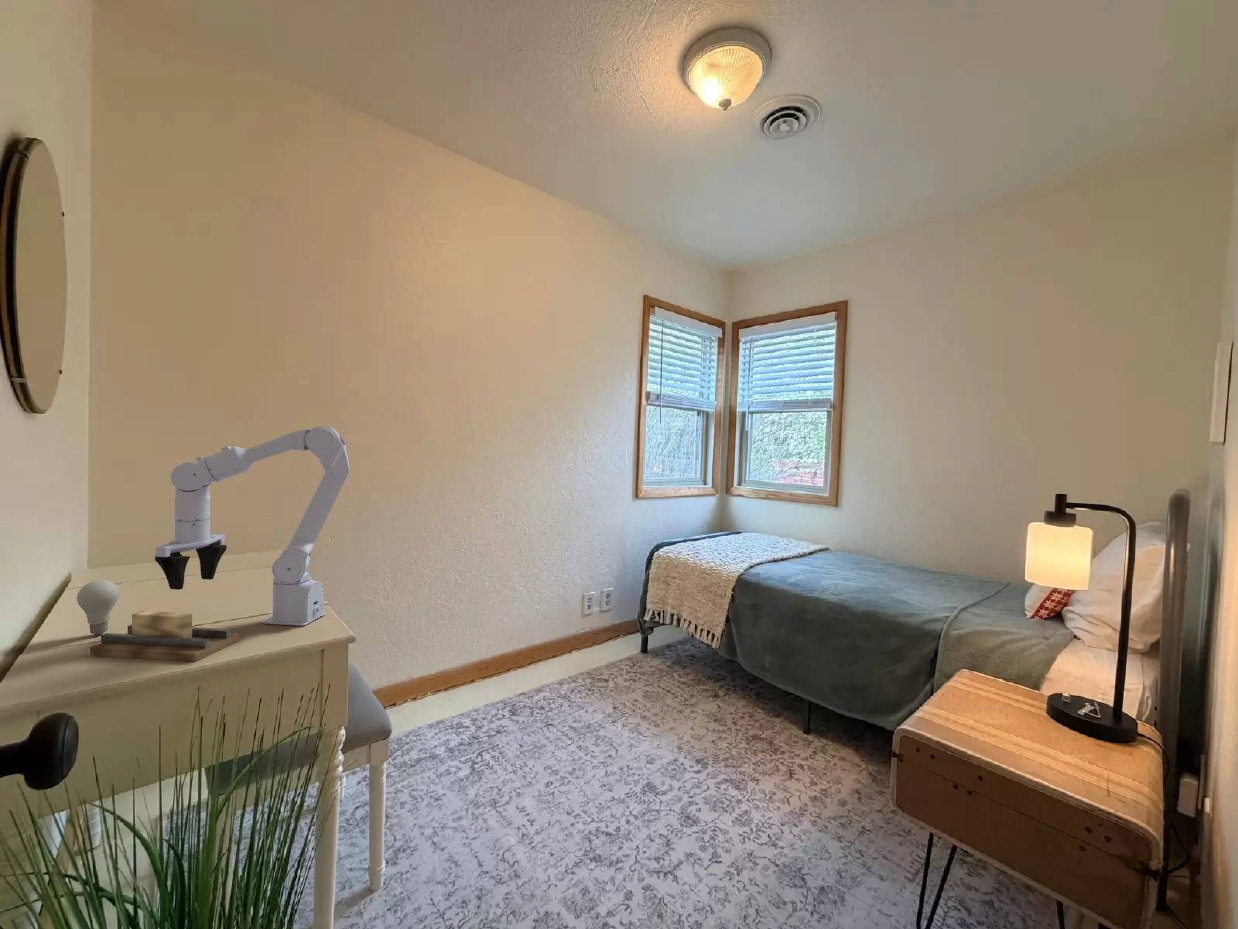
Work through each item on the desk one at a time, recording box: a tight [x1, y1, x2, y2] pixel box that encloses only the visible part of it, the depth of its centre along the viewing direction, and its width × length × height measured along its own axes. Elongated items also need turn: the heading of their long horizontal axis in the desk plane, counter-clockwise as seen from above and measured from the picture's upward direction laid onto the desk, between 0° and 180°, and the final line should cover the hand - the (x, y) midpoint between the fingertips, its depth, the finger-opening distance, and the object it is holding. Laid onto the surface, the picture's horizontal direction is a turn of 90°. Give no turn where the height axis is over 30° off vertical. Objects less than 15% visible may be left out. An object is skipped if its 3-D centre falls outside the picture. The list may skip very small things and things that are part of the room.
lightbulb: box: [76, 579, 121, 636], centre depth 104 cm, size 6×6×11 cm
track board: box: [89, 623, 239, 663], centre depth 99 cm, size 20×10×3 cm, turn 88°
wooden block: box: [131, 610, 193, 638], centre depth 99 cm, size 10×2×5 cm, turn 88°
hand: (192, 583), depth 109 cm, fingers open, 7 cm apart
